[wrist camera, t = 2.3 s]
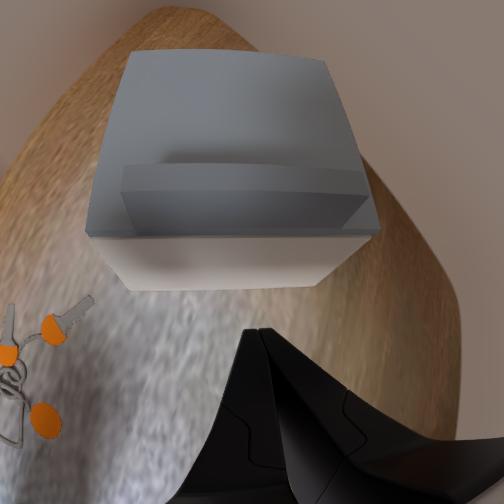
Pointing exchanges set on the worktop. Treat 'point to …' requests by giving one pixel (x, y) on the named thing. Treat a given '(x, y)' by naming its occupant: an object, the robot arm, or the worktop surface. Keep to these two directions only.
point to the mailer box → (225, 260)
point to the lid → (228, 150)
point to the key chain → (8, 354)
